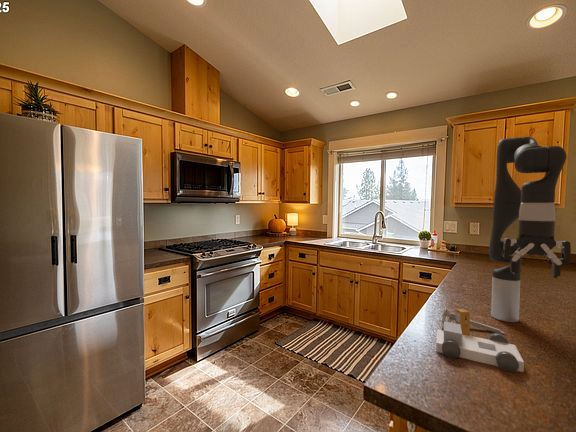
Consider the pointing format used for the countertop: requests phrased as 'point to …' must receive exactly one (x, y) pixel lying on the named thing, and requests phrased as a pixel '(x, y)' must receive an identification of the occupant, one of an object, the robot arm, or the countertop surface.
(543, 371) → the countertop surface
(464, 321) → the supplement box
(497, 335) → the chassis
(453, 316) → the caliper
